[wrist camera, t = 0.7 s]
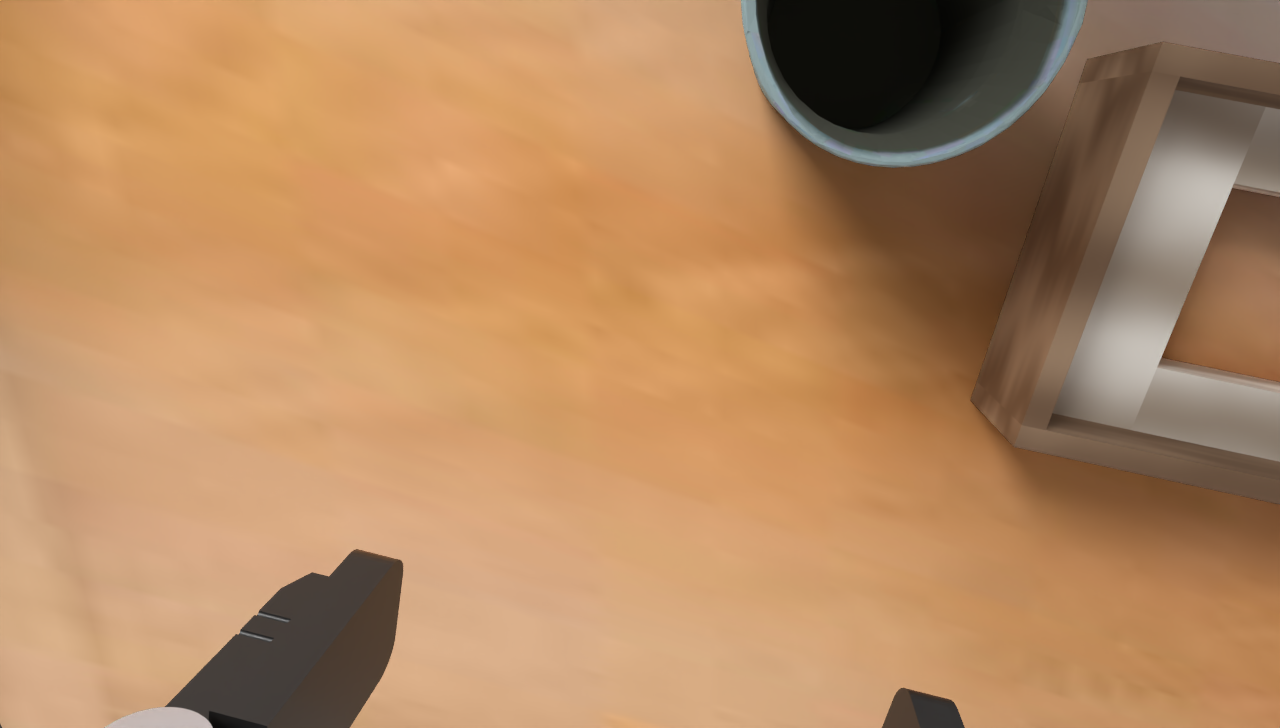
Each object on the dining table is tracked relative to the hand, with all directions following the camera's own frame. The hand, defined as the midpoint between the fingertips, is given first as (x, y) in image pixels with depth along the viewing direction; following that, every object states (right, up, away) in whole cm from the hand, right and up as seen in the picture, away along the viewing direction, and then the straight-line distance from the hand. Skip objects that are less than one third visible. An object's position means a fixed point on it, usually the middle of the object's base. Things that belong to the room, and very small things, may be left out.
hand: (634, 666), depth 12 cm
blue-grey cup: (+9, +19, +22) cm, 31 cm away
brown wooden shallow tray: (+28, +8, +23) cm, 37 cm away
